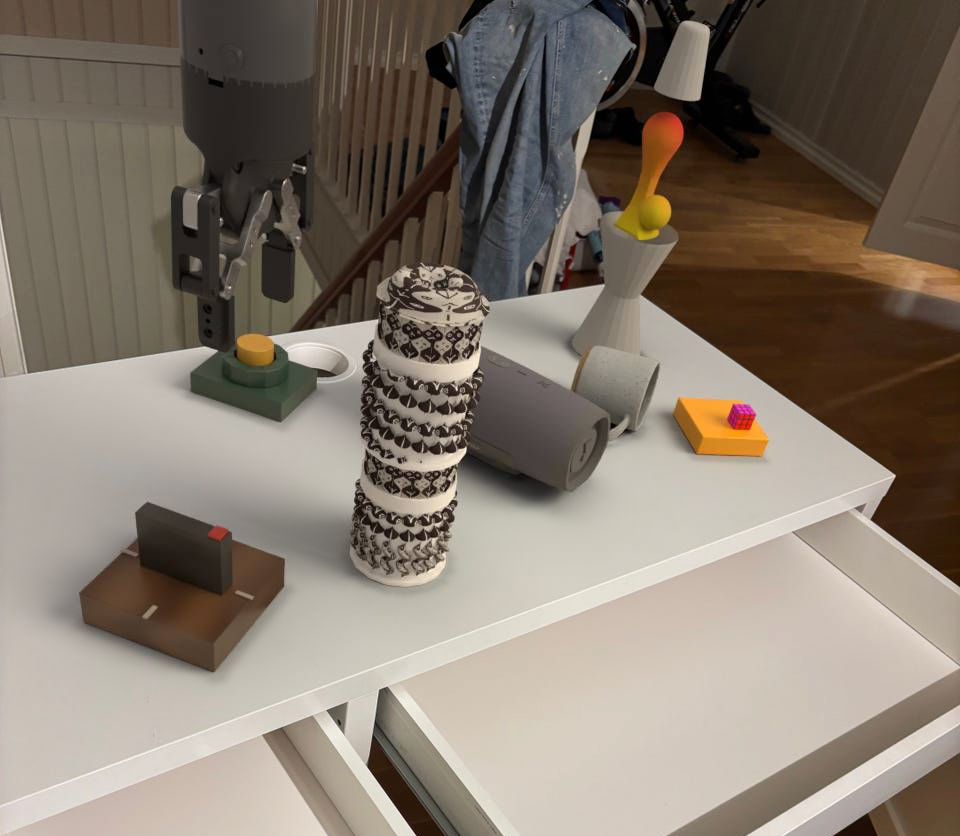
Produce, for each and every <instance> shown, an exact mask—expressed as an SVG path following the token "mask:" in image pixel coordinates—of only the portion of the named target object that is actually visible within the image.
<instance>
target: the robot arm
mask: <svg viewBox="0 0 960 836" xmlns="http://www.w3.org/2000/svg"><path fill="white" fill-rule="evenodd" d="M317 5H318V4H317V0H177V10H178V11H177V15H178V16H177V17H178V18H177V19H178V43H179V65H180V69H179V70H180V87H181V111H182V113H181V115H182V129H183V132H184V135H185V137H186V138H187V139H188V140H189V141H190V143H192V144H194V146H195V147H196V148H197V149H198V150H199V151H200V153H201V154H202V156H203V159H204V162H203V171H202V172H203V173H202V176H201V181H200V186H198V187H196V188H193V189H192V188H187V187H184V186H181V185H175V186H174V187H173V188H172V190H171V194H170V224H171V225H170V226H171V227H170V230H171V275H172V279H171V281H172V282H171V283H172V287H173V290H176V291H179V292H182V293H186V294H190V295H193V296H196V305H197V332H198V333H197V334H198V340H199V342H200V344H201V345H202V346H203V347H205V348H209V349H211V350H215V351H221V352H224V353H226V352H228V351H229V350H230V349H232V348H233V347H234V345H235V341H236V316H235V315H236V313H235V311H236V310H235V309H236V307H235V305H236V304H235V295H234V291H235V288H236V284H237V281H238V278H239V274H240V271H241V268H242V267H244V266H248V265H249V264H250V262H251V261H252V257H253V254H254V252H255V251H254V250H255V248H256V245H257V241H258V240H259V239H260V238H261V237H262V239H263V240H265V241H264V242H263V243H262V244H261V268H260V269H261V271H260V272H261V273H260V274H261V275H260V277H261V279H260V281H261V282H260V284H261V285H260V286H261V287H260V288H261V289H260V290H261V293H262V296H264V297H265V298H266V299H270V300H273V301H276V302H280V303H283V304H287V303H289V302H290V301H291V300H292V299H294V296H295V281H296V280H295V279H296V278H295V276H296V275H295V274H296V252H297V251H296V250H298V249H299V247H300V246H301V244H302V240H303V239H302V238H303V235H302V231H306V232H310V231H311V230H312V228H313V224H314V217H315V216H314V212H315V211H314V209H315V168H316V167H315V166H316V165H315V164H316V163H315V162H316V161H315V159H316V144H315V142H314V139H313V137H314V136H313V135H314V114H315V109H314V108H315V91H316V65H317V63H316V62H317V45H318V44H317V43H318V6H317ZM294 195H295V196H297V197H298V198H299V208H298V205H297V202H296V200H295V198H294ZM221 235H222V237H225V238H228V239H231V240H234V241H237V242H235V243H228V242H225V241H222V240H221ZM191 257H192V258H194V259H193V263H192V266H191ZM221 259H223V260H225V261H224V265H223V268H222V270H221V271H222V272H221V275H220V261H221Z"/></svg>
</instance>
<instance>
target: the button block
mask: <svg viewBox="0 0 960 836" xmlns="http://www.w3.org/2000/svg"><path fill="white" fill-rule="evenodd" d="M289 359H290V358H289V352H288V351H286V349H284V348H283V347H282V346H281V345H280V344H278V343H274V360H273V362H272V363H271V364H268V365H264V366H254V365H248V364H245V363H242V362H240V361H239V360H238V359H237V340H235V345H234V347H233V348H232V349H230V350H229V351H228V352H226V353H224V352H221V351H218V350H216V352H215V353H214V354H212V355H211V356H209V357H208V358H207V359H206V360H204V361H203V362H202V363H201V364H199V365H198V366H197V367H196V368H194V369H193V370H191V371H190V374H189V376H190V378H189V379H190V393H194V394H196V395H199V396H202V397H205V398H208V399H211V400H214V401H217V402H220V403H222V404H226V405H228V406H232V407H234V408H237V409H240V410H243V411H245V412H248V413H252V414H255V415H257V416H260V417H263V418H266V419H269V420H272V421H275V422H278V423H282V422H283V421H284V420H286V418H287V417H288V416H289V415H291V414H292V413H293V412H294V411H295V410H296V409H297V408H298V407H299V406H300V405H301V404H302V403H303V402H304V401H305V400H306V399H307V398H308V397H309V396H310V395H311V394H312V393H313V392H314V391H315V390H317V385H318V369H316V368H313V367H310V366H308V365H306V364H302V363H298V362H295V361H292V360H289Z"/></svg>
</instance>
